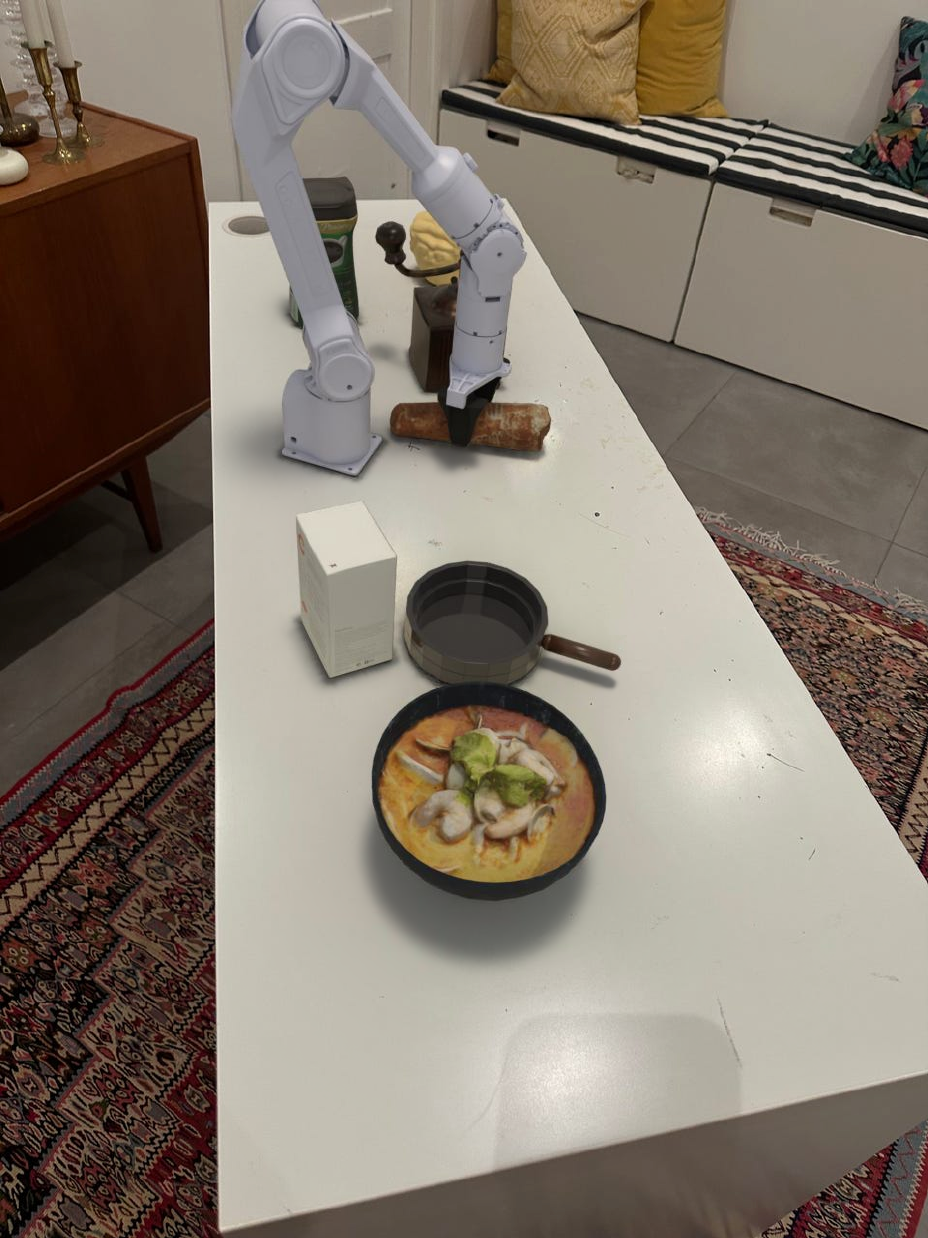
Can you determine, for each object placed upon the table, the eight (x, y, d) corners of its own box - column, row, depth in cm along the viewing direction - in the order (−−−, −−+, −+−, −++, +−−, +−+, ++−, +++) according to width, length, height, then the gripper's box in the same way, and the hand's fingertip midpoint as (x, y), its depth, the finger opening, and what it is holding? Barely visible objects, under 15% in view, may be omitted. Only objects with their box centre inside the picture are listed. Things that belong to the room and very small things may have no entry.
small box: (393, 660, 80) (399, 556, 71) (328, 680, 78) (325, 575, 69) (361, 602, 85) (363, 497, 76) (299, 618, 83) (292, 513, 74)
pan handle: (537, 651, 80) (540, 640, 79) (542, 639, 82) (544, 628, 80) (617, 676, 79) (620, 665, 78) (620, 664, 80) (624, 652, 79)
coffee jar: (351, 301, 127) (351, 166, 114) (363, 328, 122) (364, 190, 108) (284, 305, 124) (276, 167, 111) (294, 332, 119) (286, 192, 106)
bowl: (417, 977, 61) (426, 915, 53) (340, 780, 71) (339, 705, 64) (624, 895, 66) (657, 828, 59) (525, 724, 77) (543, 649, 70)
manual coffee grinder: (479, 346, 122) (495, 214, 109) (501, 389, 114) (520, 254, 101) (370, 351, 118) (372, 215, 105) (385, 395, 111) (389, 256, 98)
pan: (383, 665, 80) (384, 636, 77) (432, 575, 89) (435, 546, 86) (519, 710, 78) (526, 681, 75) (556, 612, 87) (563, 584, 84)
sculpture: (396, 279, 133) (399, 207, 125) (442, 255, 140) (447, 185, 132) (457, 305, 129) (464, 232, 121) (501, 279, 136) (510, 208, 129)
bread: (544, 462, 104) (552, 423, 100) (386, 444, 104) (387, 404, 100) (545, 432, 108) (552, 393, 104) (393, 414, 108) (394, 374, 104)
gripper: (496, 363, 90) (482, 470, 99) (533, 304, 99) (517, 407, 109) (432, 347, 91) (424, 454, 100) (475, 290, 100) (464, 392, 110)
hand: (468, 428), depth 105 cm, fingers closed on bread, 6 cm apart
